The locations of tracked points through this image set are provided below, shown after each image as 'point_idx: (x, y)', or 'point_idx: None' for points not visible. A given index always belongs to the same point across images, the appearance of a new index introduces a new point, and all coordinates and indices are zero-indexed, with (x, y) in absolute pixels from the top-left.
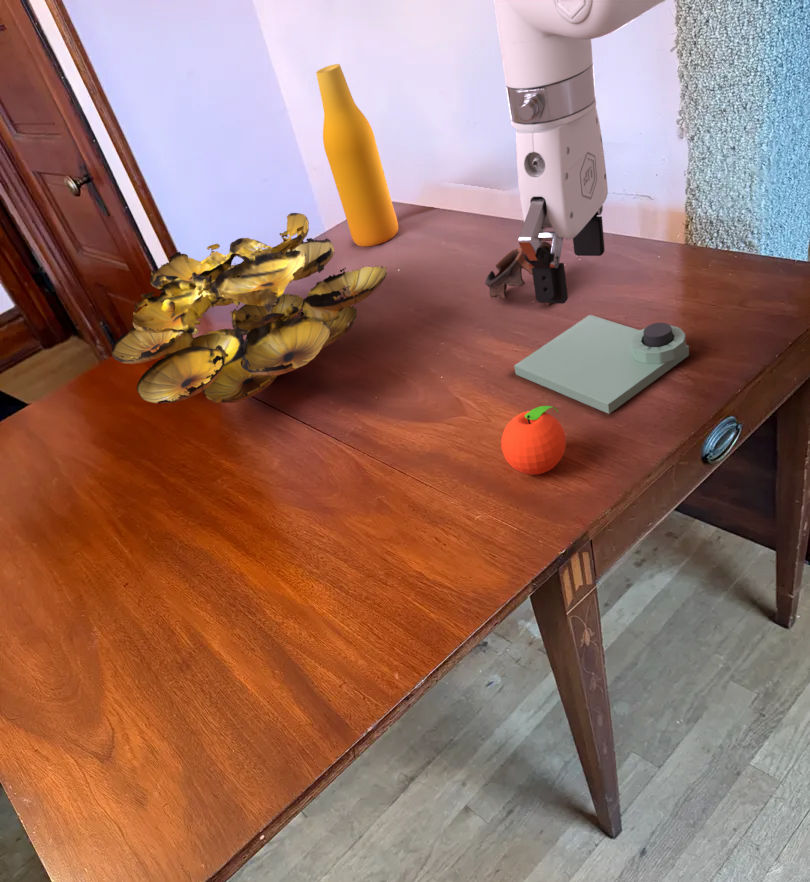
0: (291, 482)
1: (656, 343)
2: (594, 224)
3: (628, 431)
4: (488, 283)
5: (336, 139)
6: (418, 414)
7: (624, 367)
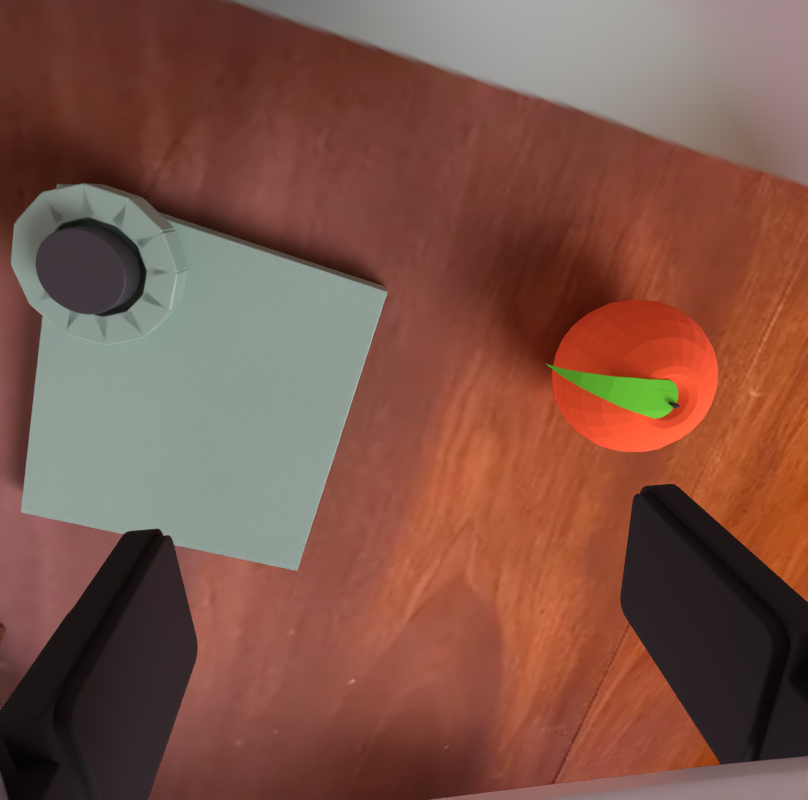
0: (695, 727)
1: (131, 257)
2: (93, 710)
3: (437, 212)
4: None
5: None
6: (478, 653)
7: (224, 319)
